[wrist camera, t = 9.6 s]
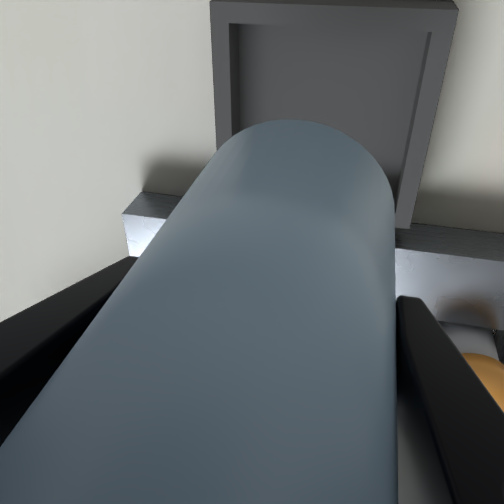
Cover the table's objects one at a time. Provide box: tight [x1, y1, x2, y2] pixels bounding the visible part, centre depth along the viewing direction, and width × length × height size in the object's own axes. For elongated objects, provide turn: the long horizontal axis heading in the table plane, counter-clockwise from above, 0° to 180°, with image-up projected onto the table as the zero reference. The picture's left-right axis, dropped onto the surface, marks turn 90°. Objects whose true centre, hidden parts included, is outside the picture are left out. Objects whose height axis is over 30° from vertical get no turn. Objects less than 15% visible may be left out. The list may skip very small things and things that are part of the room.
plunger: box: [437, 320, 504, 412], centre depth 20 cm, size 3×3×4 cm
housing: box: [122, 192, 504, 364], centre depth 22 cm, size 18×10×2 cm, turn 90°
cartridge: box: [0, 119, 398, 504], centre depth 8 cm, size 5×5×9 cm
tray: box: [210, 0, 459, 229], centre depth 17 cm, size 7×7×2 cm
